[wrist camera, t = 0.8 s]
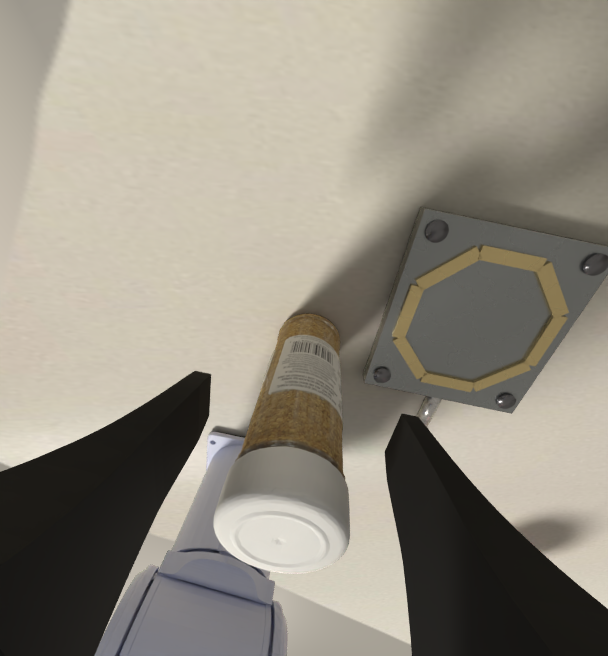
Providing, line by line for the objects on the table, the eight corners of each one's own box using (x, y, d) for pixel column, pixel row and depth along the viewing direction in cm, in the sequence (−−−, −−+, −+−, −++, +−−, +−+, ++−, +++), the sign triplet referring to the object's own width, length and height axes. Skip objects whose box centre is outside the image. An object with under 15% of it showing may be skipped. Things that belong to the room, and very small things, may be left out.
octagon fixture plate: (486, 432, 24) (493, 444, 22) (352, 404, 24) (353, 415, 22) (608, 246, 17) (627, 250, 16) (420, 207, 17) (426, 208, 16)
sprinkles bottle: (267, 345, 22) (186, 544, 10) (301, 298, 20) (251, 476, 8) (317, 375, 23) (299, 594, 11) (354, 334, 21) (382, 543, 9)
